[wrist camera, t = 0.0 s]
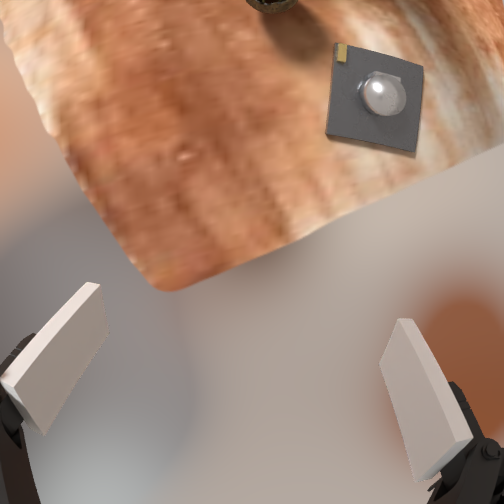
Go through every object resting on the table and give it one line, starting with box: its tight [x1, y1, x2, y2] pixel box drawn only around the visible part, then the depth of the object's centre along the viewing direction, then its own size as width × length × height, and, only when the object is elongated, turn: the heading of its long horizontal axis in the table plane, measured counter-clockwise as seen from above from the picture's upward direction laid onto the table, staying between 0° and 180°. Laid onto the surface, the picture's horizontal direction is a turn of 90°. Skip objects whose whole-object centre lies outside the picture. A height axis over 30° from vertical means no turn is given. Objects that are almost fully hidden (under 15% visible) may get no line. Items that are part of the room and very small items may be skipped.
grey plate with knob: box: [325, 43, 423, 152], centre depth 30 cm, size 12×12×4 cm
